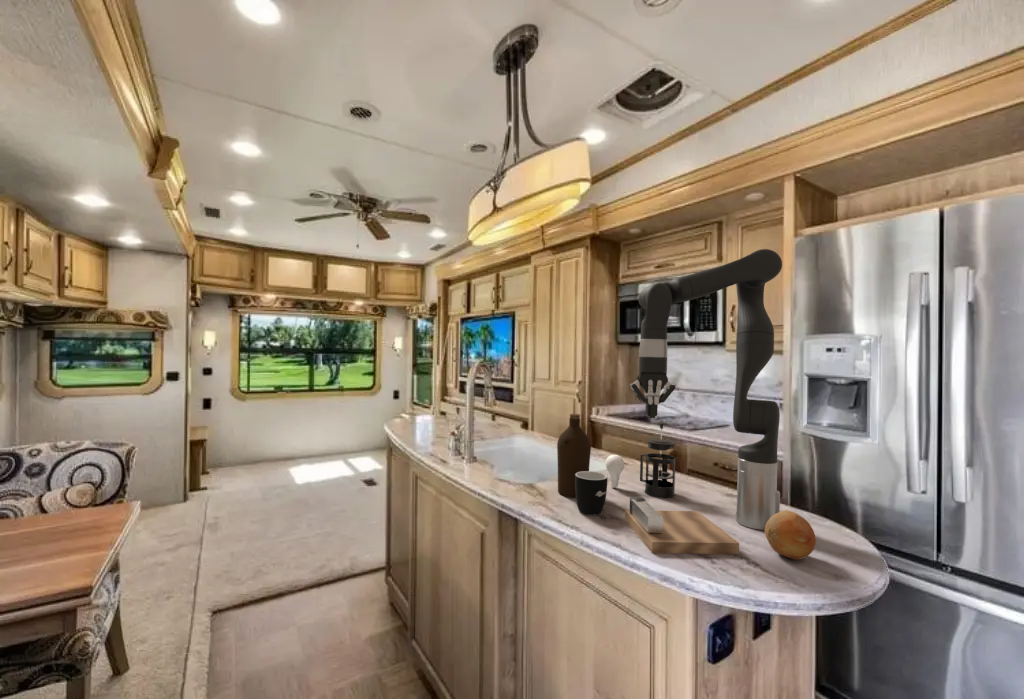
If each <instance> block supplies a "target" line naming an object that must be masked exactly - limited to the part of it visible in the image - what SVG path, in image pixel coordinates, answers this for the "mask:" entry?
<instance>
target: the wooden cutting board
mask: <svg viewBox="0 0 1024 699" xmlns="http://www.w3.org/2000/svg"><path fill="white" fill-rule="evenodd" d="M629 510H630V509H625V510H624V520H625V522H626V523H627V524H628V526H629V527H630V528H631V529H632V530H633V532H634V533H635V534H636V535H637V537H639V539H640V540H641V542H642V543H643V544H644V546H645V547H646V548H647V549H648V550H649V551H651V552H650V553H651V554H680V553H693V554H695V555H698V554H699V555H700V554H701V555H702V554H703V555H705V554H706V555H709V554H711V555H739V554H740V542H739V541H737V540H736V539H734V538H733V537H732V536H731V535H730V534H728V533H727V532H726V531H725V530H723V529H722V528H720V527H719V526H718V525H717V524H715V523H714V522H713V521H711V520H710V519H709V518H707V516H704V515H703V514H702V513H700V512H699V511H698V510H656V511H657V512H658V513H659V514H660V515H661V516H662V517H663V533H648V532H647V531H646V530H645V528H644V527H643V526H642V525H641V524H640V523H639V521H638V520H637V519H636V518H635V517H634V516H633V514H631V513H630V512H629ZM693 554H692V555H693Z"/></svg>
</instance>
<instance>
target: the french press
mask: <svg viewBox="0 0 1024 699" xmlns="http://www.w3.org/2000/svg"><path fill="white" fill-rule="evenodd" d="M654 424H655V425H659V428H660V438H648V439H646V442H647V448H648V449H650V450H656V451H659V453H657V452H656V453H654V452H651V453H641V454H640V460H639V462H640V464H639V465H640V466H639V467H640V468H639V470H640V471H639V482H642V483H645V484H644V486H645V489H644V493H645V495H647V496H650V497H651V498H652V497H653V498H657V499H658V498H659V499H673V498H675V497H676V493H675V492H676V488H675V486H676V485H675V483H676V456H673V455H670V454H666V453H662V452H663V451H664V452H665V451H668V450H670V448H674V447H675V445H676V443H677V442H676V441H674V440H670V439H664V438H663V428H664V426H667V425H668V426H669V423H668V422H664V421H663V422H662V421H656V422H654ZM644 457H645V479H643V476H644ZM649 462H650V463H652V470H649V464H650V463H649ZM668 465H672V472H669V471H668V470H669V469H668ZM649 477H651V479H649ZM669 480H672V482H671V481H669Z"/></svg>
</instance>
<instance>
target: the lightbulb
mask: <svg viewBox="0 0 1024 699" xmlns="http://www.w3.org/2000/svg"><path fill="white" fill-rule="evenodd" d="M605 468H606V470H607V472H608V475H609V482H610V483H609V484H610V485H609V486H610V487H612V488H613V489H616V488H618V486H619V481H620V476H621V474H622V472H623V470H624V468H625V461H624V459H623V457H622V456H620V455H617V454H611V455H609V456H608V457H607V458H606V459H605Z"/></svg>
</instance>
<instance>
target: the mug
mask: <svg viewBox="0 0 1024 699" xmlns="http://www.w3.org/2000/svg"><path fill="white" fill-rule="evenodd" d="M607 489H608V475H606V474H605V473H602V472H599V471H593V470H592V471H591V470H589V471H581V472H577V473H576V474H575V491H576V497H575V499H576V500H575V501H576V505H577V510H578V511H579V512H580V513H581V514H584V515H587V516H598V515H601V514H602V513H603V511H604V509H605V505H606V500H607V491H608V490H607Z"/></svg>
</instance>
